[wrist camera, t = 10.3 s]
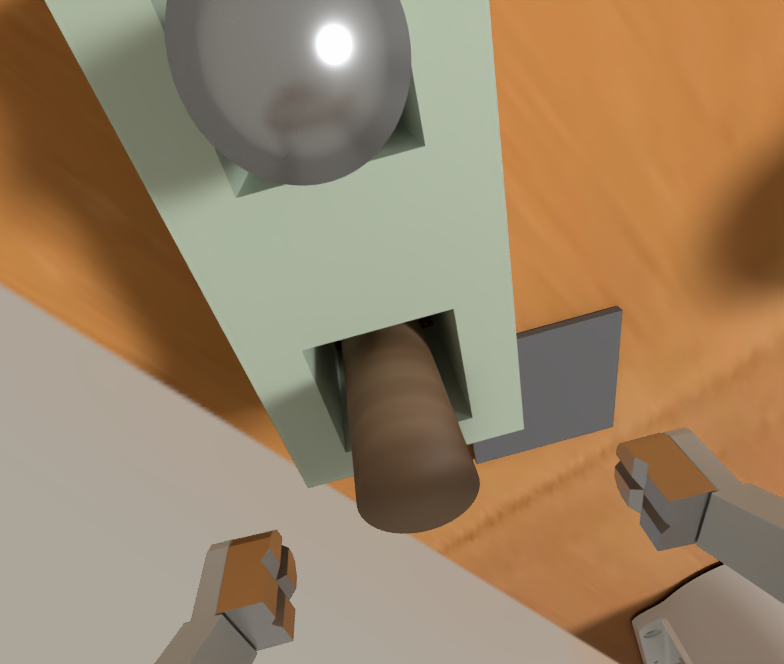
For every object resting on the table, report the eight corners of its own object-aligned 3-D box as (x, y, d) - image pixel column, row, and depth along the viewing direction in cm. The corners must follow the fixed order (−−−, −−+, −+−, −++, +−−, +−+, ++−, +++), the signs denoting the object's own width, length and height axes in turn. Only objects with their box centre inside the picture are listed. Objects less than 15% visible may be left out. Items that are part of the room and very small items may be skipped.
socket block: (473, 336, 21) (524, 429, 16) (309, 381, 21) (308, 488, 16) (403, -137, 12) (467, -263, 7) (115, -57, 12) (-25, -126, 7)
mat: (609, 421, 26) (612, 426, 25) (474, 458, 26) (476, 463, 25) (617, 306, 21) (622, 310, 21) (454, 350, 21) (457, 355, 21)
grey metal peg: (362, 92, 15) (431, 151, 6) (275, 118, 15) (232, 210, 6) (334, -20, 13) (378, -134, 5) (236, 9, 13) (110, -55, 5)
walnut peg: (413, 316, 20) (485, 514, 12) (348, 334, 20) (373, 545, 12) (398, 256, 18) (471, 437, 10) (327, 275, 18) (340, 473, 10)
